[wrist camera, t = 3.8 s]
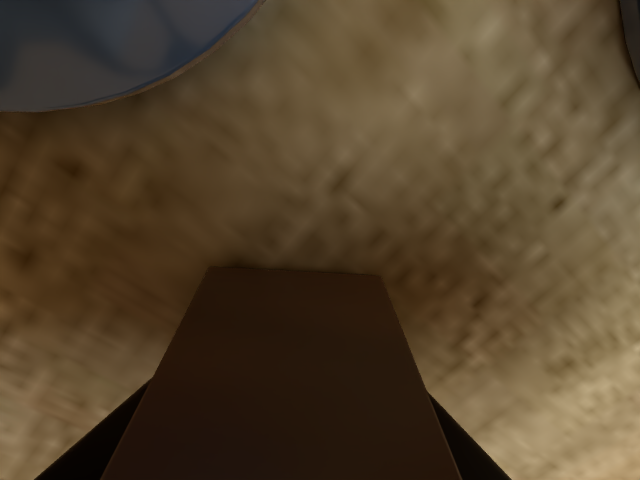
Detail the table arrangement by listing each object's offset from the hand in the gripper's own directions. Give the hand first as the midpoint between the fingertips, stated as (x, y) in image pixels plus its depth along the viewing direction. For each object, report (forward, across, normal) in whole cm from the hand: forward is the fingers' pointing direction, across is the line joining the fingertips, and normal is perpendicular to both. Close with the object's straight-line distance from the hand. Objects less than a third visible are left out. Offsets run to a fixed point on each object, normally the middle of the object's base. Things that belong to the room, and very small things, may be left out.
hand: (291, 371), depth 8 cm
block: (+1, 0, 0) cm, 1 cm away
